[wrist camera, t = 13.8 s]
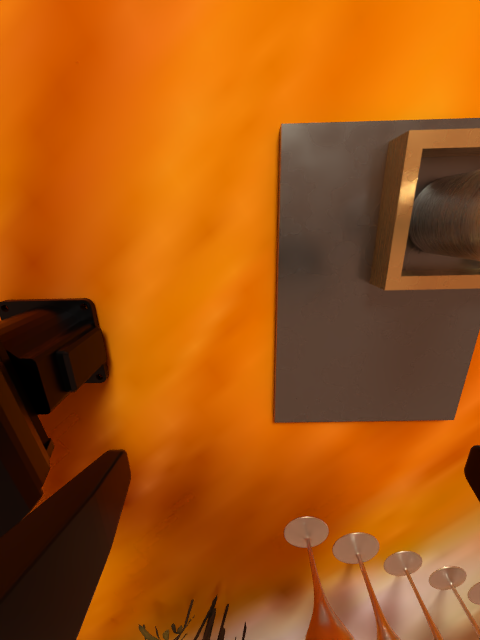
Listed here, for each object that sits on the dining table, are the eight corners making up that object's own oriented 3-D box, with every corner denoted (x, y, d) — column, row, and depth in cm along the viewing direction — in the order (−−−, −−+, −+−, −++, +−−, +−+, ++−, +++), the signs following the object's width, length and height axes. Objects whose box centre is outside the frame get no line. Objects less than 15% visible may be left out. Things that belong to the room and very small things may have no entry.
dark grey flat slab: (273, 415, 22) (277, 441, 20) (279, 128, 16) (287, 109, 13) (446, 413, 22) (474, 438, 20) (525, 121, 16) (583, 100, 13)
